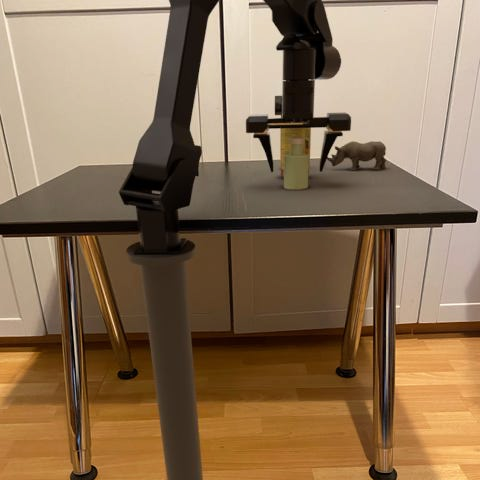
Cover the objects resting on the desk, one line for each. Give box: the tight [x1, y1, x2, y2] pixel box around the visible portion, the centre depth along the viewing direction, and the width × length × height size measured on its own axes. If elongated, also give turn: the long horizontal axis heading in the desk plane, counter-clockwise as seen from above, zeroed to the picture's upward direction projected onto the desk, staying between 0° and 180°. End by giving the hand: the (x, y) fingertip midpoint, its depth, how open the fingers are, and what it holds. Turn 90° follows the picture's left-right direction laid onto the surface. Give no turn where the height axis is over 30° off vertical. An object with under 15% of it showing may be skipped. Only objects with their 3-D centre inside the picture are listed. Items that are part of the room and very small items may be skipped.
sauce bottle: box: [279, 80, 312, 179], centre depth 98 cm, size 7×6×20 cm
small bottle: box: [283, 137, 309, 191], centre depth 91 cm, size 5×5×9 cm
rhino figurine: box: [326, 140, 387, 171], centre depth 108 cm, size 4×14×6 cm, turn 84°
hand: (296, 171), depth 92 cm, fingers open, 9 cm apart
